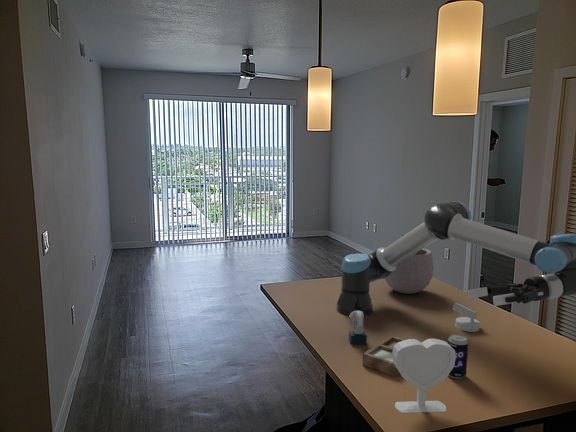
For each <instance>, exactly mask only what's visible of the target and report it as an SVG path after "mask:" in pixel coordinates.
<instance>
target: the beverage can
mask: <svg viewBox="0 0 576 432" xmlns="http://www.w3.org/2000/svg"><path fill="white" fill-rule="evenodd" d="M447 343H448V344H449V345H450V346H451V347H452V348H453V349H454V350H455V355H456V359H455V363H454V367H453V369H452V370H451V372H450V373H449V375H448V376H449V377H450V378H452V379H454V380H455V379H457V380H462V379H463V378H464V377H466V376H467V367H468V366H467V365H468V353H469V341H468V338H467V337H466V336H465V335H463V334H455V333H454V334H450V335H449V337H448V339H447Z"/></svg>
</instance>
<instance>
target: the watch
mask: <svg viewBox="0 0 576 432" xmlns="http://www.w3.org/2000/svg"><path fill="white" fill-rule="evenodd" d="M348 317H349V318H350V320H351V323H352V327H353V330H349V331H348V341H349V344H350V345H367V344H368V343H367V339H368V335H367V333H366V332H365V330H364V329H365V328H364V318H365V315H364V313H363V312H362V311H353V312H352V313H351V314H350V315H348Z"/></svg>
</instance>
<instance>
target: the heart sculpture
mask: <svg viewBox="0 0 576 432" xmlns="http://www.w3.org/2000/svg"><path fill="white" fill-rule="evenodd" d="M392 355H393V363H394V364H395V366H396V368H397V369H398V371H399V374H400V376H401V377H402V378H403V379H404V380H406V381H407V382H408V383H409V385H410V384H411V385H412V386H413V387H415V388H416V400H415V401H396V402H395V403H394V407H395V409H396V410H398V412H400V413H402V414H403V413H404V414H409V413H434V412H435V413H441V412H443V413H444V412H447V406H446V405H445V404H444V403H443V402H441V401H439V400H426V398H427V397H426V395H427V391H428V390H430V389H431V388H433V387H434V386H436V385H438V384H440V383H441V382H442V381H443V380H445V379H446V378H447V377H448V376H449V373H450V372H451V370H452V369H453V367H454V363H455V359H456V355H455V350H454V349H453V348H452V347H451V346H450V345H449V344H448V341H444V340H442V339H438V338H428V339H425V340H424V341H420V340H418V339H416V338H409V339H405V340H403V341H401V342H398V343H397V344H395V345H394V347H393V352H392Z"/></svg>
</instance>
